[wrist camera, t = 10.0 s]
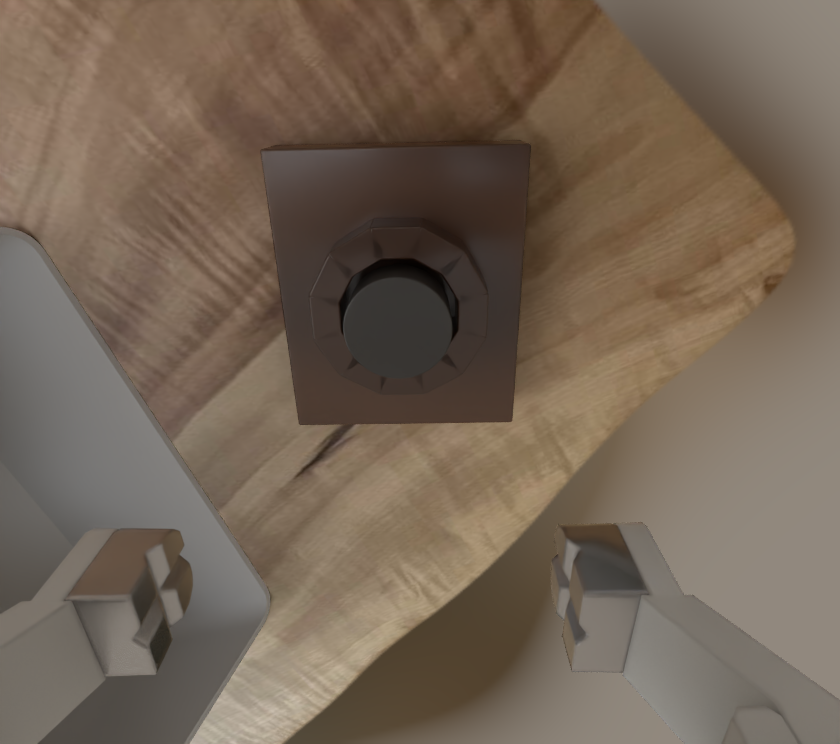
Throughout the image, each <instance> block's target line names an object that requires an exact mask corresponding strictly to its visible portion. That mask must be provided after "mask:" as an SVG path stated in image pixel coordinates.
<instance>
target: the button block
mask: <svg viewBox="0 0 840 744" xmlns="http://www.w3.org/2000/svg"><path fill="white" fill-rule="evenodd" d="M530 152H531V145H530V144H529V143H526V142H523V141H521V140H503V141H455V142H406V143H357V144H309V145H275V146H271V147H268V148H264V149H261V158H262V165H263V172H264V180H265V187H266V194H267V201H268V208H269V215H270V222H271V229H272V236H273V243H274V250H275V257H276V264H277V272H278V279H279V286H280V293H281V300H282V307H283V314H284V321H285V328H286V335H287V342H288V349H289V357H290V364H291V371H292V378H293V385H294V392H295V399H296V406H297V413H298V420H299V424H300V425H334V424H405V423H476V422H512V418H513V403H514V388H515V374H516V359H517V344H518V329H519V315H520V300H521V285H522V270H523V256H524V241H525V226H526V211H527V197H528V182H529V167H530ZM394 264H404V265H410V266H414V267H417V268H419V269H422V270H424V271H426V272H427V273H429V274H430V275H431V276H433V277H434V278H435V279H436V280H437V281H438V282H439V283H440V285H441V286H442V287H443V289H444V291H445V293H446V295H447V297H448V300H449V305H450V311H451V318H452V338H451V342H450V345H449V348H448V350H447V352H446V353H445V355H444V356H443V358H442V359H441V360H440V361H439V362H438V363H437V364H436V365H435V366H434V367H433V368H431V369H430V370H428V371H427V372H425V373H423V374H420V375H418V376H414V377H410V378H403V379H394V378H387V377H383V376H380V375H377V374H375V373H373V372H371V371H369V370H367V369H366V368H365V367H363V366H362V365H361V364H360V363H359V362H358V361H357V360H356V359H355V358H354V357H353V356H352V354H351V352H350V351H349V349H348V347H347V345H346V342H345V338H344V333H343V320H344V315H345V311H346V309H347V306H348V303H349V301H350V298H351V295H352V293H353V291H354V289H355V287H356V286H357V284H358V283H359V282H360V281H361V280H362V279H363V278H364V277H365V276H366V275H367V274H369V273H370V272H372V271H374V270H376V269H378V268H380V267H383V266H387V265H394Z"/></svg>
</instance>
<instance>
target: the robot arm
mask: <svg viewBox="0 0 840 744" xmlns="http://www.w3.org/2000/svg"><path fill="white" fill-rule="evenodd" d="M554 542H555V546H556V549H557V553H558V554H557V555H556V556H555V557H554V558H553V559H552V564H551V591H552V596H553V602H554V606H555V610H556V614H557V615H558V616H560V617H561V618H562V619H563V620H564V626H563V634H562V637H563V641H564V644H565V648H566V652H567V655H568V659H569V663H570V666H571V670H572V672H621V673H623V676H624V677H625V678H626V679H627V680H628V682H629V683H630V684H631V685H632V686H633V687H634V688H635V689H636V690H637V692H638V693H639V694H640V695H641V696H642V697H643V698H644V700H645V701H646V702H647V703H648V704H649V705H650V706H651V707H652V708H653V709H654V711H655V712H656V713H657V714H658V715H659V716H660V717H661V718H662V719H663V721H664V722H665V723H666V724H667V725H668V726H669V727H670V728H671V730H672V731H673V732H674V733H675V734H676V735H677V736H678V737H679V738H680V740H681V741H682V742H683V743H684V744H840V700H839V699H838V698H836V697H835V696H834V695H832V694H831V693H829V692H828V691H827V690H825V689H824V688H822V687H821V686H819V685H818V684H817V683H815V682H814V681H812V680H811V679H810V678H808V677H807V676H806V675H804V674H803V673H801V672H800V671H799V670H797V669H796V668H794V667H793V666H791V665H790V664H789V663H787V662H786V661H785V660H783V659H782V658H780V657H779V656H778V655H776V654H775V653H773V652H772V651H771V650H769V649H768V648H766V647H765V646H764V645H762V644H761V643H759V642H758V641H757V640H755V639H754V638H752V637H751V636H750V635H748V634H747V633H745V632H744V631H743V630H741V629H740V628H738V627H737V626H736V625H734V624H733V623H731V622H730V621H729V620H727V619H726V618H724V617H723V616H722V615H720V614H719V613H717V612H716V611H715V610H713V609H712V608H710V607H709V606H708V605H706V604H705V603H703V602H702V601H701V600H699V599H698V598H696V597H695V596H694V595H684V594H683V592H682V590H681V588H680V586H679V585H678V583H677V581H676V579H675V577H674V575H673V574H672V572H671V570H670V568H669V566H668V564H667V563H666V561H665V559H664V557H663V555H662V553H661V552H660V550H659V548H658V546H657V544H656V543H655V541H654V539H653V537H652V535H651V533H650V531H649V529H648V528H647V526H646V525H645V524H643V523H642V522H638V523H637V522H632V523H614V524H611V523H607V524H558V526H557V528H556V531H555V538H554ZM184 545H185V544H184V542H183V539H182V536H181V533H180V531H178V530H176V529H154V528H120V529H107V528H94V529H92V530H90V531H88V532H86V533H85V534H84V535H83V536H82V537H81V539H80V540H79V541H78V542H77V544H76V545H75V546H74V547H73V549H72V550H71V551H70V552H69V554H68V555H67V556H66V557H65V559H64V560H63V561H62V562H61V564H60V565H59V566H58V567H57V569H56V570H55V571H54V572H53V574H52V575H51V576H50V577H49V579H48V580H47V581H46V582H45V584H44V585H43V586H42V587H41V589H40V590H39V591H38V592H37V594H36V595H35V596H34V597H33V599H32V600H31V601H21V602H20V603H18V604H16V605H15V606H13V607H11V608H10V609H8V610H6V611H5V612H3V613H1V614H0V744H38V743H39V742H40V741H41V740H42V739H43V738H44V737H45V736H46V735H47V734H48V733H49V732H50V731H51V730H52V729H54V728H55V727H56V726H57V725H58V724H59V723H60V722H61V721H62V720H63V719H64V718H65V717H66V716H67V715H68V714H70V713H71V712H72V711H73V710H74V709H75V708H76V707H77V706H78V705H79V704H80V703H81V702H82V701H83V700H84V699H86V698H87V697H88V696H89V695H90V694H91V693H92V692H93V691H94V690H95V689H96V688H97V687H98V686H99V685H100V684H101V683H103V682H104V681H105V679H106V678H105V676H132V675H156V674H157V672H158V670H159V668H160V665H161V663H162V661H163V659H164V657H165V655H166V653H167V651H168V649H169V646H170V644H171V642H172V640H173V638H172V635H171V631H170V627H171V626H173V625H174V624H175V623H176V622H178V621H179V620H180V619H181V618H183V617H184V614H185V612H186V610H187V608H188V605H189V603H190V599H191V594H192V589H193V573H192V569H191V566H190V563H189V562H188V561H187V560H185V559H184V558H183V557H182V556H181V555H180V553H181V551H182V549H183V547H184Z"/></svg>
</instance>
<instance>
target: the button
mask: <svg viewBox="0 0 840 744" xmlns="http://www.w3.org/2000/svg"><path fill="white" fill-rule="evenodd" d="M343 333H344V338H345V342H346V345H347V347H348V349H349V351H350V352H351V354H352V356H353V357H354V358H355V359H356V360H357V361H358V362H359V363H360V364H361V365H362V366H363V367H365V368H366V369H367V370H369V371H371V372H373V373H375V374H377V375H380V376H383V377H387V378H394V379H403V378H410V377H414V376H418V375H420V374H423V373H425V372H427V371H428V370H430V369H431V368H433V367H434V366H435V365H436V364H437V363H438V362H439V361H440V360H441V359H442V358H443V356H444V355H445V353H446V352H447V350H448V348H449V345H450V342H451V338H452V318H451V311H450V305H449V300H448V297H447V295H446V293H445V291H444V289H443V287H442V286H441V285H440V283H439V282H438V281H437V280H436V279H435V278H434V277H433V276H431V275H430V274H429V273H427V272H426V271H424V270H422V269H419V268H417V267H414V266H410V265H404V264H394V265H387V266H383V267H380V268H378V269H376V270H374V271H372V272H370V273H369V274H367V275H366V276H365V277H364V278H363V279H362V280H361V281H360V282H359V283H358V284H357V286H356V287H355V289H354V291H353V293H352V295H351V298H350V301H349V303H348V306H347V309H346V311H345V315H344V320H343Z"/></svg>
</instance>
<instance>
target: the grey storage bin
mask: <svg viewBox="0 0 840 744" xmlns="http://www.w3.org/2000/svg"><path fill="white" fill-rule="evenodd" d="M94 528H107V529H120V528H154V529H176V530H178V531H180V533H181V536H182V539H183V542H184V544H185V545H184V547H183V549H182V551H181V553H180V555H181V556H182V557H183V558H184V559H185V560H187V561H188V562H189V563H190V566H191V569H192V573H193V589H192V594H191V599H190V603H189V605H188V608H187V610H186V612H185V614H184V617H183V618H181V619H180V620H179V621H178V622H176V623H175V624H174V625H173V626H171V627H170V631H171V635H172V638H173V640H172V642H171V644H170V646H169V649H168V651H167V653H166V655H165V657H164V659H163V661H162V663H161V665H160V668H159V670H158V672H157V674H156V675H132V676H105V678H106V679H105V681H104V682H103V683H101V684H100V685H99V686H98V687H97V688H96V689H95V690H94V691H93V692H92V693H91V694H90V695H89V696H88V697H87V698H86V699H84V700H83V701H82V702H81V703H80V704H79V705H78V706H77V707H76V708H75V709H74V710H73V711H72V712H71V713H70V714H68V715H67V716H66V717H65V718H64V719H63V720H62V721H61V722H60V723H59V724H58V725H57V726H56V727H55V728H54V729H52V730H51V731H50V732H49V733H48V734H47V735H46V736H45V737H44V738H43V739H42V740H41V741H40V742H39V743H38V744H189V743H190V742H191V740H192V739H193V737H194V735H195V734H196V732H197V731H198V729H199V727H200V726H201V724H202V723H203V721H204V719H205V718H206V716H207V715H208V713H209V711H210V710H211V708H212V707H213V705H214V703H215V702H216V700H217V699H218V697H219V695H220V694H221V692H222V691H223V689H224V687H225V686H226V684H227V683H228V681H229V679H230V678H231V676H232V675H233V673H234V672H235V670H236V668H237V667H238V665H239V664H240V662H241V660H242V659H243V657H244V656H245V654H246V652H247V651H248V649H249V648H250V646H251V644H252V643H253V641H254V640H255V638H256V636H257V635H258V633H259V632H260V630H261V628H262V627H263V625H264V623H265V621H266V619H267V616H268V613H269V608H270V594H269V590H268V588H267V586H266V585H265V583H264V582H263V580H262V579H261V577H260V576H259V574H258V573H257V571H256V570H255V568H254V566H253V565H252V563H251V562H250V560H249V559H248V557H247V556H246V554H245V553H244V551H243V550H242V548H241V547H240V545H239V544H238V542H237V541H236V539H235V538H234V536H233V535H232V533H231V532H230V530H229V529H228V527H227V526H226V524H225V523H224V521H223V520H222V518H221V517H220V515H219V513H218V512H217V510H216V509H215V507H214V506H213V504H212V503H211V501H210V500H209V498H208V497H207V495H206V494H205V492H204V491H203V489H202V488H201V486H200V485H199V483H198V482H197V480H196V479H195V477H194V476H193V474H192V473H191V471H190V470H189V468H188V467H187V465H186V464H185V462H184V460H183V459H182V457H181V456H180V454H179V453H178V451H177V450H176V448H175V447H174V445H173V444H172V442H171V441H170V439H169V438H168V436H167V435H166V433H165V432H164V430H163V429H162V427H161V426H160V424H159V423H158V421H157V420H156V418H155V417H154V415H153V414H152V412H151V411H150V409H149V407H148V406H147V404H146V403H145V401H144V400H143V398H142V397H141V395H140V394H139V392H138V391H137V389H136V388H135V386H134V385H133V383H132V382H131V380H130V379H129V377H128V376H127V374H126V373H125V371H124V370H123V368H122V367H121V365H120V364H119V362H118V361H117V359H116V358H115V356H114V354H113V353H112V351H111V350H110V348H109V347H108V345H107V344H106V342H105V341H104V339H103V338H102V336H101V335H100V333H99V332H98V330H97V329H96V327H95V326H94V324H93V323H92V321H91V320H90V318H89V317H88V315H87V314H86V312H85V311H84V309H83V308H82V306H81V305H80V303H79V301H78V300H77V298H76V297H75V295H74V294H73V292H72V291H71V289H70V288H69V286H68V285H67V283H66V282H65V280H64V279H63V277H62V276H61V274H60V273H59V271H58V270H57V268H56V267H55V265H54V264H53V262H52V261H51V259H50V258H49V256H48V255H47V253H46V252H45V250H44V249H43V247H42V246H41V245H40V244H39V243H38V242H37V241H36V240H34V239H33V238H32V237H30V236H29V235H27V234H25V233H23V232H21V231H19V230H16V229H12V228H8V227H0V614H1V613H3V612H5V611H6V610H8V609H10V608H11V607H13V606H15V605H16V604H18V603H20V602H21V601H31V600H32V599H33V597H34V596H35V595H36V594H37V592H38V591H39V590H40V589H41V587H42V586H43V585H44V584H45V582H46V581H47V580H48V579H49V577H50V576H51V575H52V574H53V572H54V571H55V570H56V569H57V567H58V566H59V565H60V564H61V562H62V561H63V560H64V559H65V557H66V556H67V555H68V554H69V552H70V551H71V550H72V549H73V547H74V546H75V545H76V544H77V542H78V541H79V540H80V539H81V537H82V536H83V535H84V534H85V533H86V532H88V531H90V530H92V529H94Z"/></svg>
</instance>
